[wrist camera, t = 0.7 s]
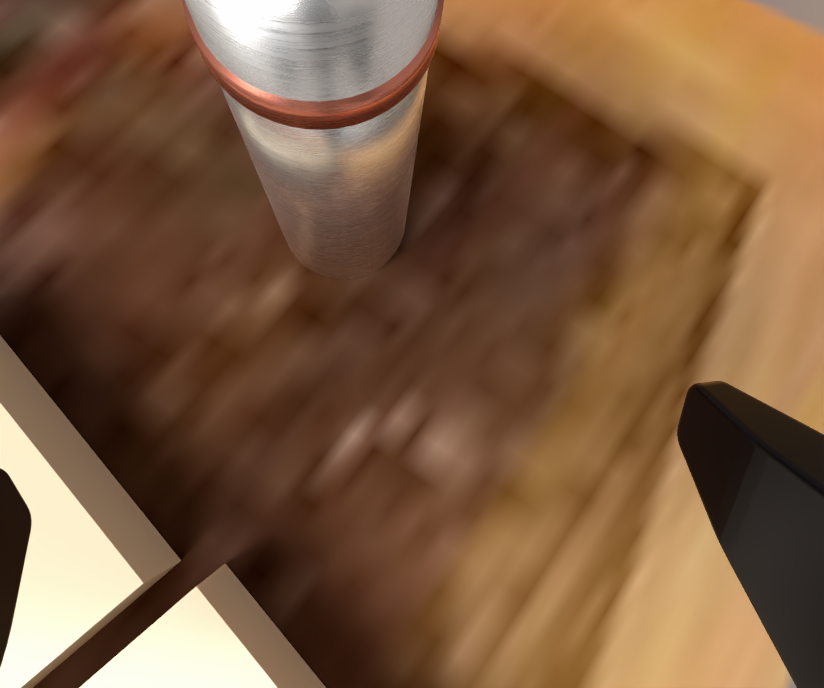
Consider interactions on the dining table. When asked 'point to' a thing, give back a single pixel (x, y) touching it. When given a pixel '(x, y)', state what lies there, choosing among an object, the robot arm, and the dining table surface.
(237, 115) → the tube
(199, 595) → the collar
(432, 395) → the dining table surface
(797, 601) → the robot arm
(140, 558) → the collar
